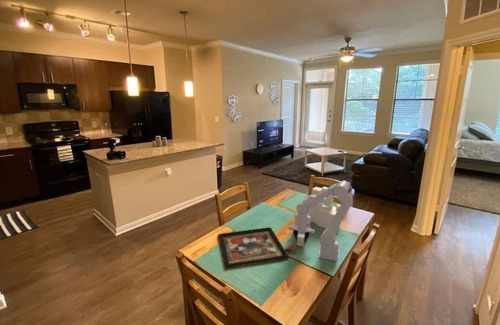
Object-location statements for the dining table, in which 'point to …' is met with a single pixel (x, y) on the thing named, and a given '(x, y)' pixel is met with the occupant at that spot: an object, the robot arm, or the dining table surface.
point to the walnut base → (290, 248)
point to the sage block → (300, 240)
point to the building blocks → (323, 209)
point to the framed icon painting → (250, 247)
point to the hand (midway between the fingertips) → (300, 242)
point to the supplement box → (307, 223)
